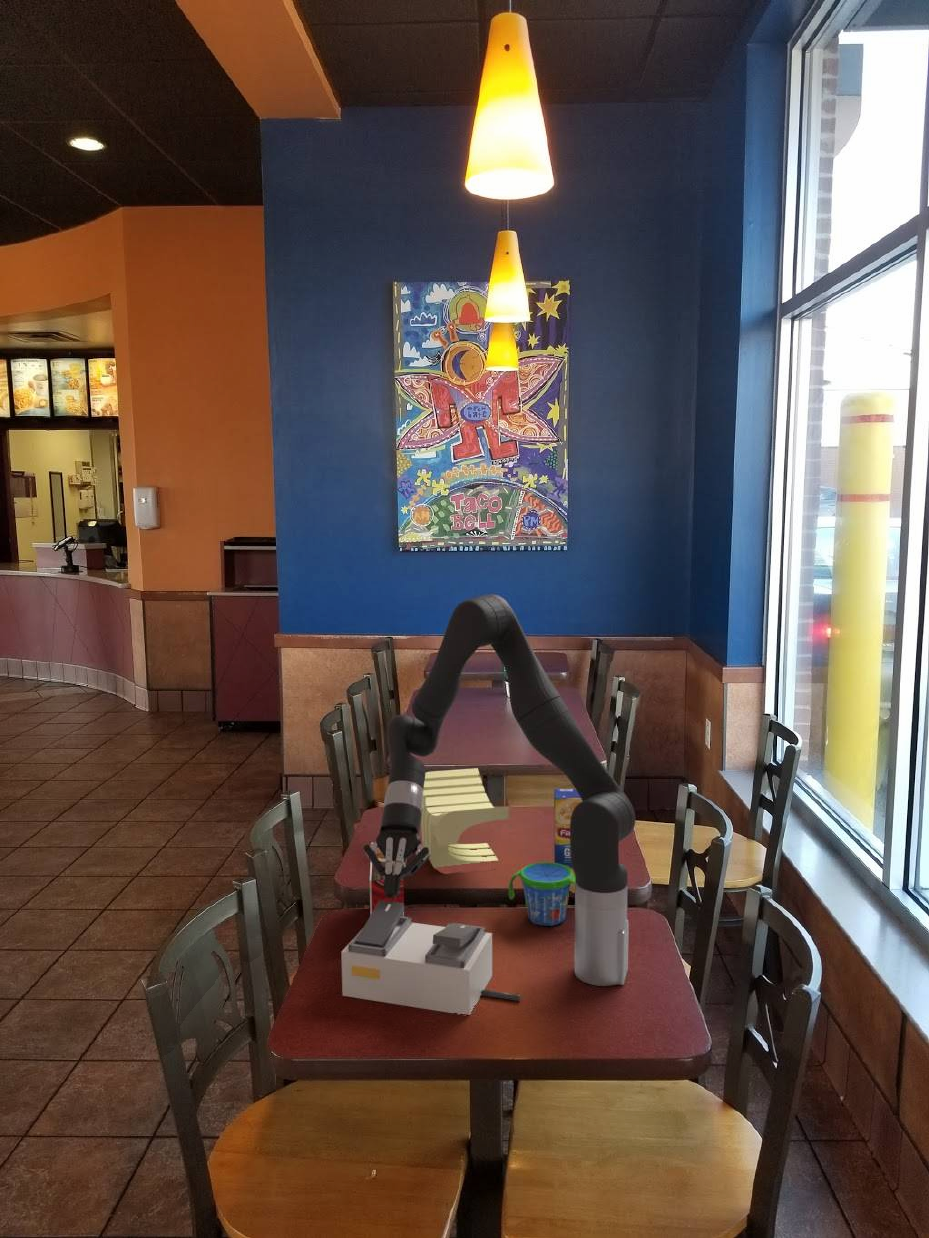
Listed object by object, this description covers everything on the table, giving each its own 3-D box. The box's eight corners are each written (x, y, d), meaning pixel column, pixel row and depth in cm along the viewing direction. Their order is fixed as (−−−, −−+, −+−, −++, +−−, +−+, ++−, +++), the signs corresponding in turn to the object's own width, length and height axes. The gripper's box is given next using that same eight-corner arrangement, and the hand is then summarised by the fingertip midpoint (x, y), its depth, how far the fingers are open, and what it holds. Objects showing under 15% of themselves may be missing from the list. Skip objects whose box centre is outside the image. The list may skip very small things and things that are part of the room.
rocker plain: (477, 935, 170) (478, 926, 170) (459, 947, 160) (460, 938, 160) (452, 931, 172) (452, 923, 172) (432, 943, 161) (433, 934, 161)
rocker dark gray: (404, 909, 174) (403, 903, 174) (382, 951, 165) (381, 944, 164) (379, 906, 176) (378, 899, 175) (357, 947, 166) (355, 940, 165)
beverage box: (606, 899, 204) (607, 799, 201) (554, 898, 205) (554, 798, 202) (603, 886, 211) (605, 789, 208) (553, 884, 212) (554, 788, 209)
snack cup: (500, 922, 194) (500, 874, 192) (521, 902, 203) (521, 856, 202) (573, 937, 187) (574, 888, 185) (591, 916, 196) (592, 868, 195)
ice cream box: (372, 902, 203) (371, 842, 202) (403, 901, 204) (402, 841, 202) (371, 947, 184) (369, 880, 182) (404, 945, 184) (403, 879, 182)
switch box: (530, 980, 170) (530, 931, 169) (510, 1023, 157) (510, 970, 156) (373, 957, 179) (372, 911, 178) (341, 996, 166) (340, 946, 164)
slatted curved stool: (415, 842, 238) (414, 772, 236) (478, 836, 241) (477, 768, 239) (438, 891, 209) (437, 812, 206) (509, 884, 212) (509, 806, 210)
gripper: (365, 799, 183) (351, 887, 172) (434, 802, 181) (424, 890, 171) (372, 817, 189) (359, 902, 178) (438, 819, 187) (429, 906, 176)
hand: (390, 896), depth 174 cm, fingers closed
